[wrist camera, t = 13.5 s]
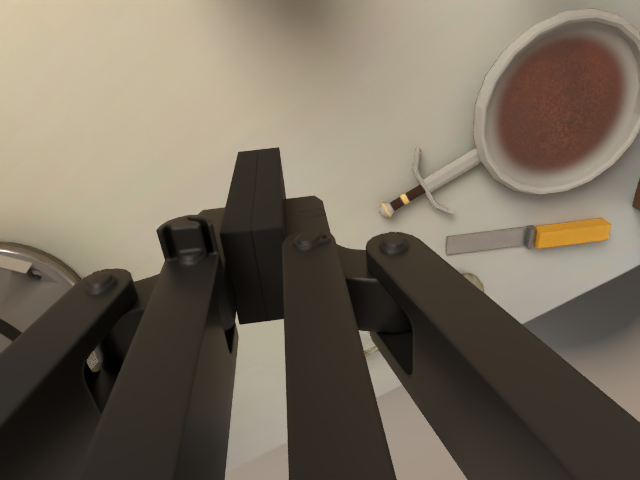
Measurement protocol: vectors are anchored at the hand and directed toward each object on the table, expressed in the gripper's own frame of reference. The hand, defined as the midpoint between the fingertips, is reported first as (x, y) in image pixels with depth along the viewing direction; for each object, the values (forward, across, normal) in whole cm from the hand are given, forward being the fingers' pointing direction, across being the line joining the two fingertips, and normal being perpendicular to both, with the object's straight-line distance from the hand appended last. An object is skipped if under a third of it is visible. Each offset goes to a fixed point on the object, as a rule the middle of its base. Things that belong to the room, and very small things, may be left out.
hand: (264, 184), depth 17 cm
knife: (+26, +26, -20) cm, 42 cm away
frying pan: (+27, +22, -8) cm, 35 cm away
